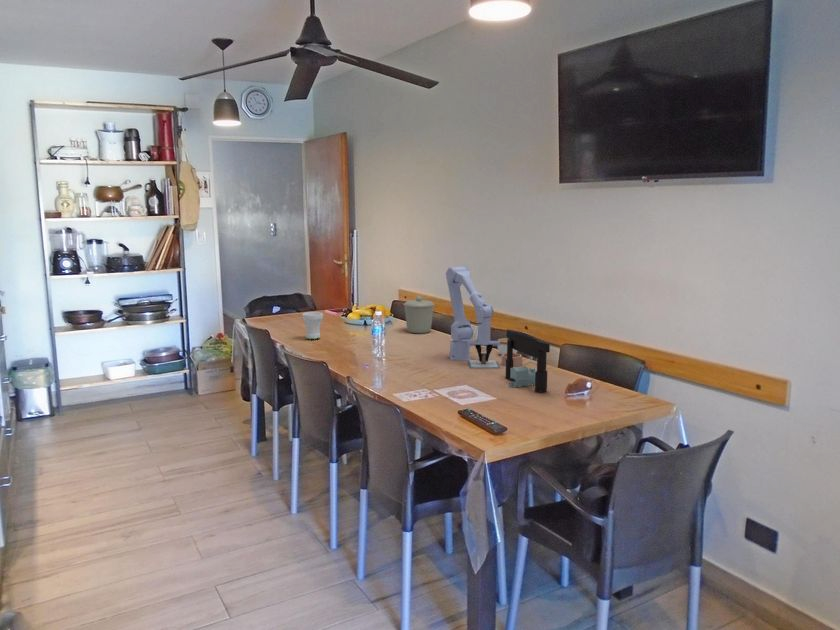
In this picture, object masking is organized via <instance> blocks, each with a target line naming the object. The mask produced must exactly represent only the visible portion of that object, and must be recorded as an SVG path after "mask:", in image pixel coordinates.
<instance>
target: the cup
mask: <svg viewBox="0 0 840 630" xmlns="http://www.w3.org/2000/svg"><path fill="white" fill-rule="evenodd" d="M301 316H302V320H303V322H304V325H305V329H306V331H305V332H306V333H305V338H306V340H308V339H311V340H313V339H316V340H318V339H317V338H320V339H321V330H320V329H321V325H322V320H323V318H324V313H323V312H320V311H308V312H303V313H302V314H301Z"/></svg>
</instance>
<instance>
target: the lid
mask: <svg viewBox="0 0 840 630" xmlns="http://www.w3.org/2000/svg"><path fill="white" fill-rule="evenodd" d="M468 361H469V362H470V365H471V368H489V369H499V368H498V365H497V363H496V361H497V360H496V359H495V360H494V359H493V360H491V359H490V360H489V359H488V362H486V353H485V352H481V362H480V361H479V359H478V360H475V359H474V360H473V359H471V360H468Z"/></svg>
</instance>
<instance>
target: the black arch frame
mask: <svg viewBox="0 0 840 630" xmlns="http://www.w3.org/2000/svg"><path fill="white" fill-rule="evenodd" d="M505 334H506V338H508V340H507V359H506V366H505V379H507V380H508V382H510V383H508V387H511V388H516V387H517V388H522V387H530V386H534V392H536V393H537V392H538V393H545V392H547V391H548V370H547V354H548V353H550V347H551V346H550V344H551V343H549V342H547V341H545V340H543V339H541V338H538V337H536V336H533V335H531V334H529V333H526V332H523V331H519V330H514V329H509V328H507V329H506V333H505ZM513 349H515V350H517V351H518V352H520V353H522V354H524V355H527V356H528V357H532V358H535V359H536V368H535V367H529V368H528V367H527V366H525V365H524V366H517V367H513ZM532 384H534V385H532ZM525 385H526V386H525Z"/></svg>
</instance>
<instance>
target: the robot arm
mask: <svg viewBox="0 0 840 630" xmlns="http://www.w3.org/2000/svg"><path fill="white" fill-rule="evenodd" d="M471 275H472V274H471V270H470V269H469V267H468V266H466V265H463V266H450V267H448V268H447V270H446V272H445V277H446V282H447V286H448V291H449V292H448V293H449V298H450V303H451V309H452V314H453V319H454V320H453V321H454V322H453V323H452V324H451V326H450V337H451V339H452V340H450V341H449V342H450V343H449V358H450V359H449V360H450V361H469V360H472V359H471V355H470V347H471V346H472V347H475V349H476V352H477V355H478V360H479V361H480V362H481V353H482V347H485V348H486V349H485V350H486V362H488V360H489V358H490V355H491V353H492V350H493V348H494V347H495V346H496V347H497V346H500V341H497V340H491V325H492V323H491V320H492V319H491V318H493V316H494V313H495V312H494V309H493V306H492V305H491V304H489V303H487V302H486V300H485V298H484V297H483V295H482V292H480V291H477V289H476V286H475V285H474V282H473V280H472V278H471ZM462 285H463V286H464V288H465V289H466V291H467V293H468V294H469V295H470V296H469V300H470V302H471V304H472V306H473V308H474V309H475V312H474V314H475V317H476V322H477V340H472V338H473V337H474V329H473V327H472V323H471V322H470V321H469V320H467V319H466V313H465V307H464V302H463V297H462V293H461V292H462V291H461V286H462Z"/></svg>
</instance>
